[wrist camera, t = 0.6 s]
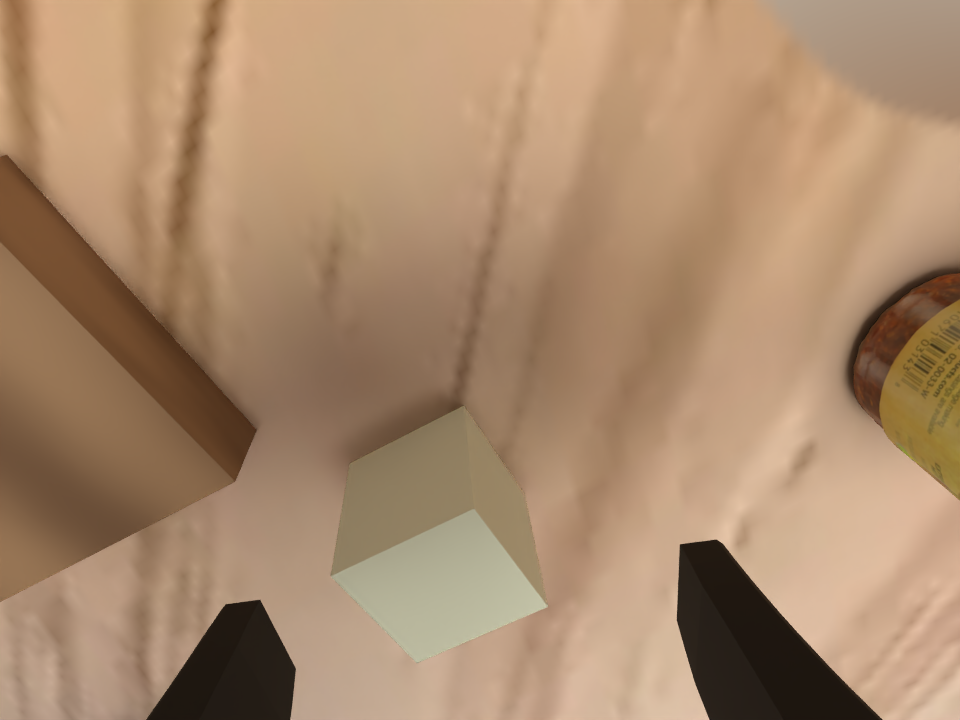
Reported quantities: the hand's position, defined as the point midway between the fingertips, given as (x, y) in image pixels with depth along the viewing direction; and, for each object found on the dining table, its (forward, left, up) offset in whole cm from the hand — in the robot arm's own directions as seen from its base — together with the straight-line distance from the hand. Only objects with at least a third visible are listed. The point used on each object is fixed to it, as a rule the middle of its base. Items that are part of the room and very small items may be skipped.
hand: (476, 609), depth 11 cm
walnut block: (-12, +6, -10) cm, 17 cm away
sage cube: (-3, -4, -10) cm, 11 cm away
